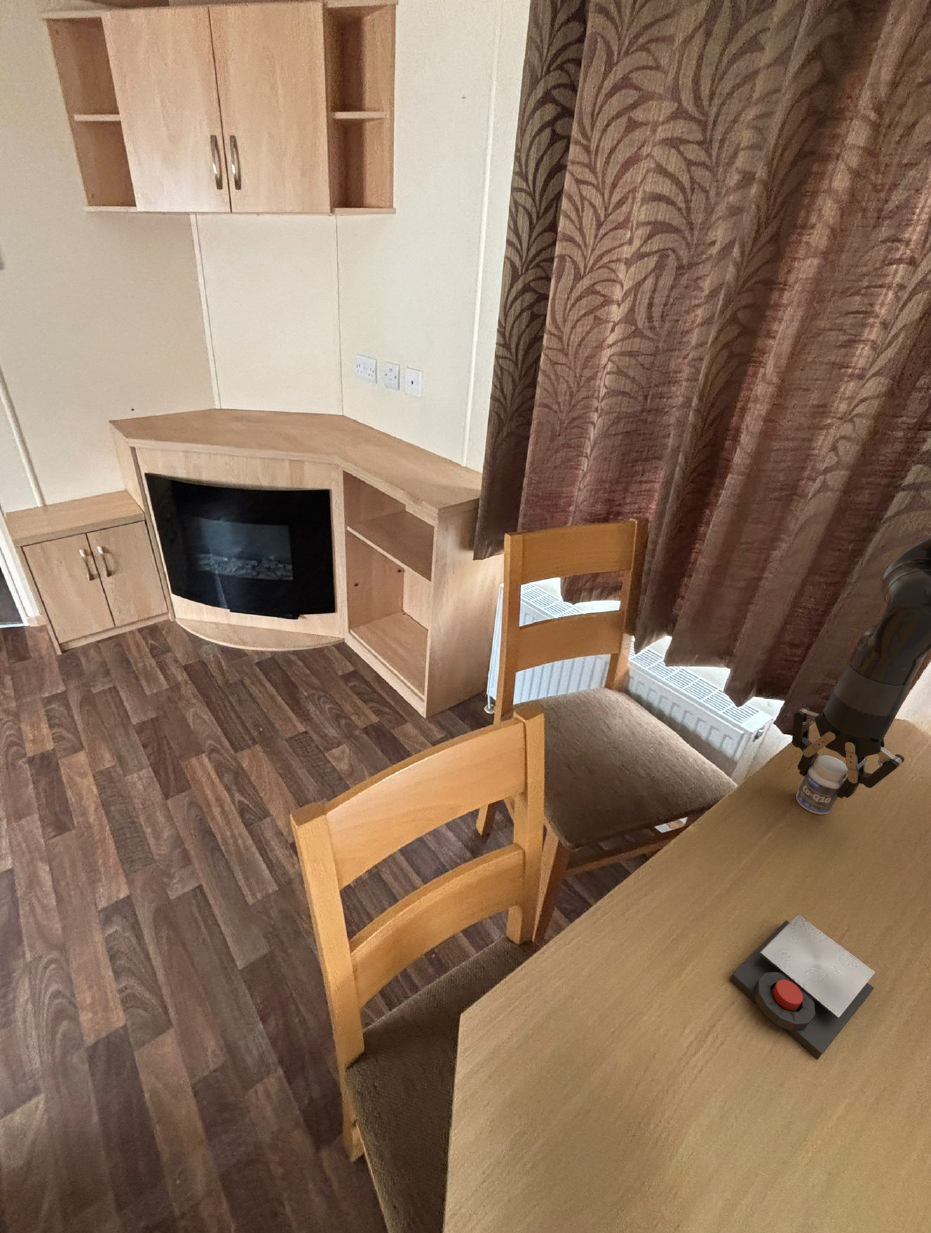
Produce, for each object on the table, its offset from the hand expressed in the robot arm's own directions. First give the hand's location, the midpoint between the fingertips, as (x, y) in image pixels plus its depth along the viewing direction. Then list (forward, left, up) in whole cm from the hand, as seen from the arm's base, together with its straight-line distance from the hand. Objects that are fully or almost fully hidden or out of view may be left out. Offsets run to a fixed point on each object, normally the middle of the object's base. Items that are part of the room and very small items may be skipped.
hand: (822, 783), depth 92 cm
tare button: (+34, +13, -2) cm, 37 cm away
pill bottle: (0, 0, -5) cm, 5 cm away
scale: (+30, +13, -4) cm, 33 cm away
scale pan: (+28, +13, -1) cm, 31 cm away
